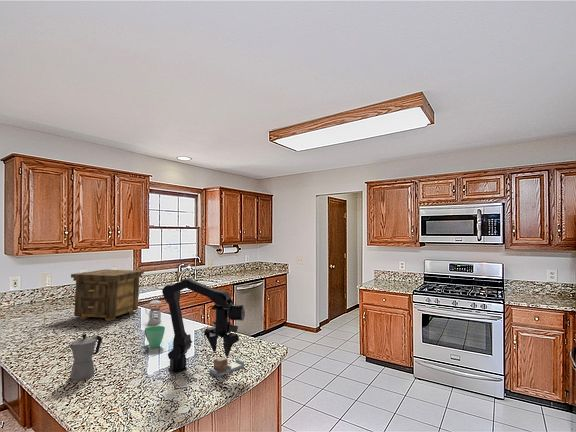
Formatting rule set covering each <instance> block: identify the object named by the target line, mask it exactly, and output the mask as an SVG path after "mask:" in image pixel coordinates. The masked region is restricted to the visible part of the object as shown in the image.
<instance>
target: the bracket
mask: <svg viewBox="0 0 576 432" xmlns="http://www.w3.org/2000/svg"><path fill="white" fill-rule="evenodd" d="M244 367H245V361H243V360H241V359H239V358H236V359H235V361H234V362H233V363H230V364H227V370H226V371H224V372H221V373H218V371H216V370H214V368H212V367H211V368H209V369H208V371H209V374H208V375H210V374H211V375H210V376H212V375H213V377H214V376H215V377H214V378H219V377H221V376H224V375H227V374H230V373H232V372H234V371H237V370H239V369H242V368H244ZM226 373H227V374H226ZM223 374H224V375H223ZM218 376H219V377H218Z"/></svg>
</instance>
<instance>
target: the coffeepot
mask: <svg viewBox="0 0 576 432" xmlns="http://www.w3.org/2000/svg"><path fill="white" fill-rule="evenodd" d="M102 341H103V338H102V337H101V336H100V335H94V336H92V337H87V333H84V334H82V338H80V339H75V340H74V341H72V342H71V344H70V345H69V346H68V348H70V349H71V352H72V358H73V363H72V367H71V371H70V373H69V374H70V375H69V379H70V380H71V381H83V380H87V379H89V378H92V377H93V376H94V375H95V367H94V366H95V365H94V359H93V356H96V355H98V353H99V350H100V348H101V344H102Z"/></svg>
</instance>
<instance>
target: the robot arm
mask: <svg viewBox="0 0 576 432" xmlns="http://www.w3.org/2000/svg"><path fill="white" fill-rule="evenodd" d="M184 289H188V290H190V291H193V292H195V293H197V294H200V295H202V296H204V297H206V298H208V299H209V300H210V301H211V302H212V303H213V306H211V308H210V310H215V313H214V314H215V317H214V319H215V320H214V321H213V322H212V323H213V325H214V326H211V327H207V328H205V329H204V333H203V335H204V336H205V338H206V340H207V341H208V343H209V345H210V347H211V349H212V352H216V351H217V346H218V344H217V343H218V338H219V337H220V338H222V339H223V342H222V345H223V351H224V354H225V358H228V357H229V356H230V353H231V350H232V347H233V345H235V344H236V343H237V342H239V341H240V336H239V334H237V332H238V328H239V325H235V324H232V322H231V321H244V320H245V317H246V311H245V308H244V307H245V306H244V304H235V302H234V301H233V300H232V298H231V295H230V293H229V291H227V290H223V289H220V288H219V289H217V288H212V287H210V286H207V285H206V284H203V283H200V282H198V281H196V280H193V279H192V278H190V277H189V278H184V279H182V280H181V281H178V282H176V283H175V282H174V283H170V284H166V285H164V287H163V288H162V290H161V293H162V296H163V298H164V300H165V303H167V304H168V308H169V312H170V320H171V324H172V329H173V336H174V337H173V340H172V350H170V351H169V352H168V353H167V356H168V359H169V367H168V368H167V370H169V371H170V372H172V373H174V374H177V373H179V372H183V371H186V370H188V367H187V357H186V356H187V355H186V354H187V353H188V351H189V350H190V349H191V347H192V343H193V341H192V337H191V333H189V334H187V332H186V330H185V324H184V318H183V315H182V309H181V305H180V299H181V295H182V294H181V291H183V290H184ZM229 319H230V320H229ZM185 369H186V370H185Z"/></svg>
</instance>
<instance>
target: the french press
mask: <svg viewBox="0 0 576 432" xmlns="http://www.w3.org/2000/svg"><path fill="white" fill-rule="evenodd" d="M154 289H158V286H154ZM159 304H162V301H160V300H158V299H157V297H155V300H154V299H153V300H151V301H149V304H147V305H146V307H145V309H144V310H145V312H146V314H147V315H148V321H147V322H146V323H147V324H148V325H149V324H151V325H153V324H161V323H162V322H163V320H162V319H161V318H162V317H161V316H162V313H161V312H162V310H161V307H160V306H156V305H159ZM151 305H154V306H153V307H152V306H151ZM148 306H149V309H150V310H149V312H148V310H147V308H148Z"/></svg>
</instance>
